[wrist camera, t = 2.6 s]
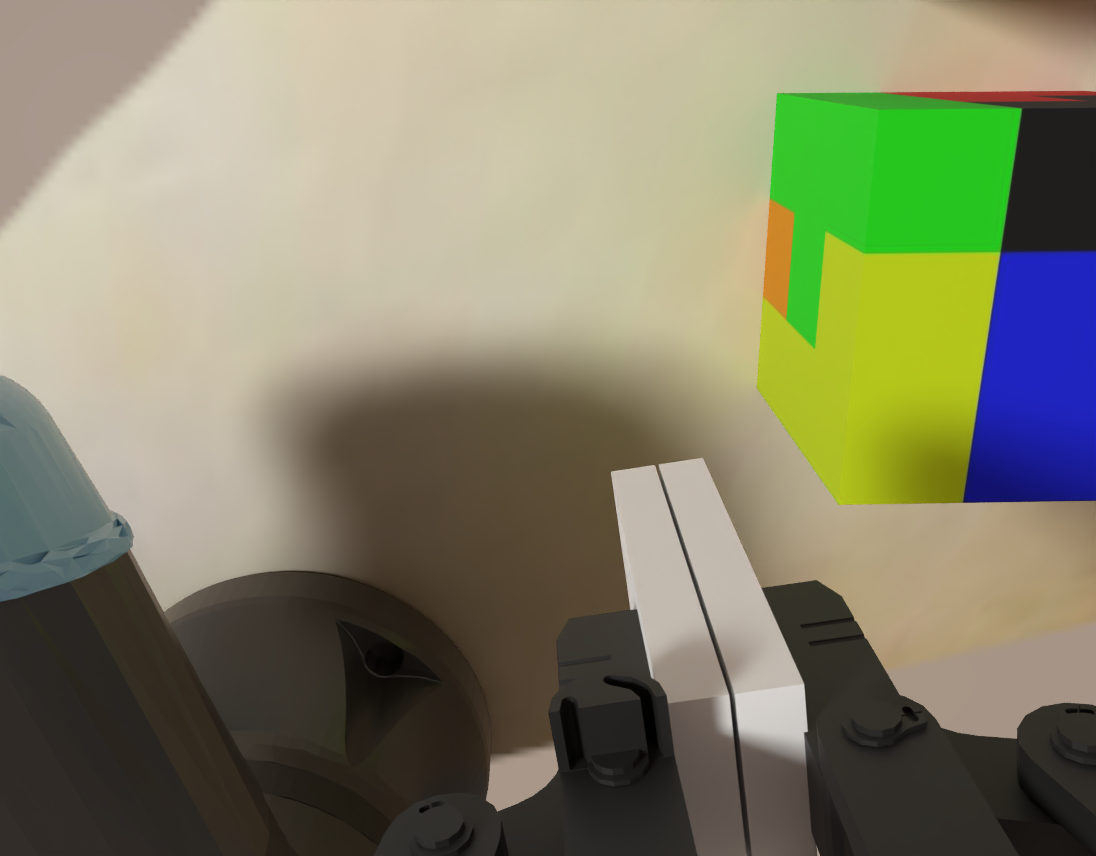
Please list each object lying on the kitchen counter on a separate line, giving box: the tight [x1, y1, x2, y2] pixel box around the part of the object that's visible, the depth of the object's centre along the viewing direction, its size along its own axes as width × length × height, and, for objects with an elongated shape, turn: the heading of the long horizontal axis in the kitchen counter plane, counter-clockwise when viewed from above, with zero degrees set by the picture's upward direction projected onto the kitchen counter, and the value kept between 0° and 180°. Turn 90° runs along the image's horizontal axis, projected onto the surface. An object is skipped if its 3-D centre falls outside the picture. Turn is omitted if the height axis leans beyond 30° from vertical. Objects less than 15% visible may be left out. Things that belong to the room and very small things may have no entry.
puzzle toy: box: [757, 91, 1096, 505], centre depth 30 cm, size 10×10×10 cm
